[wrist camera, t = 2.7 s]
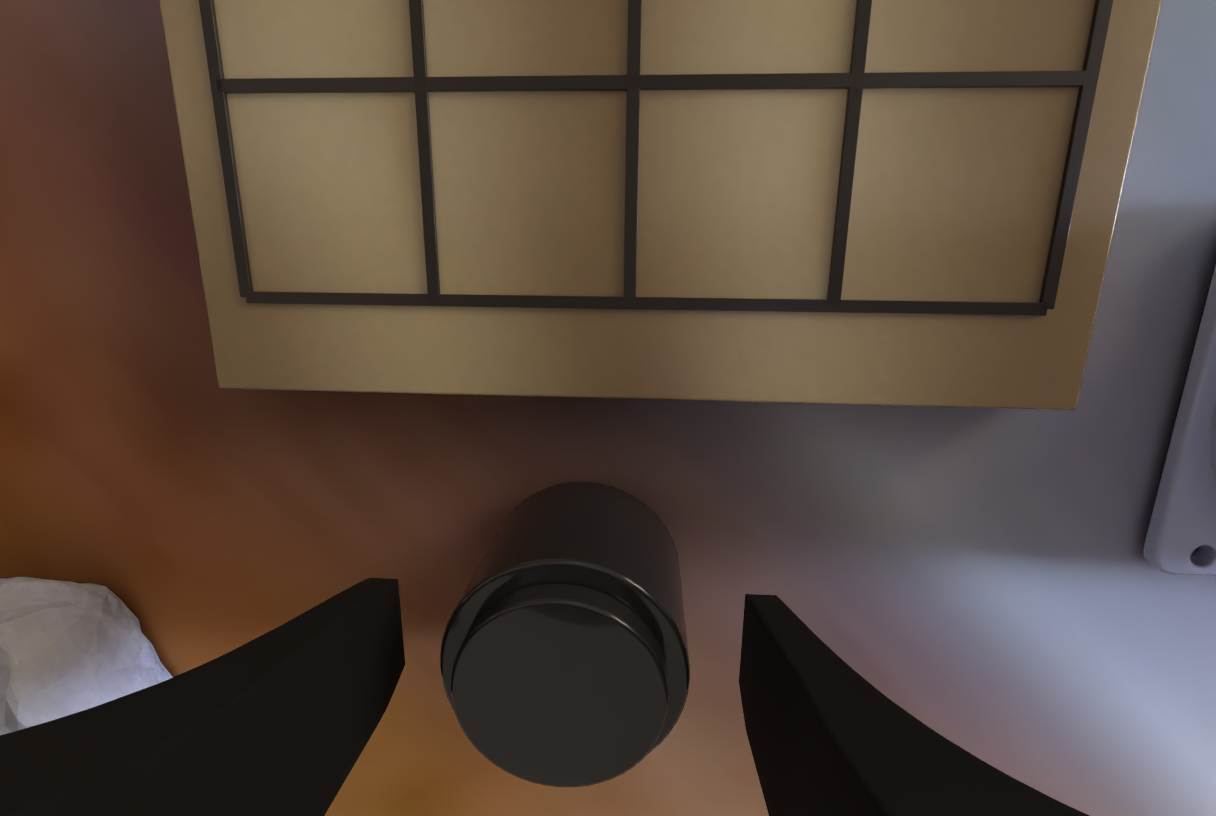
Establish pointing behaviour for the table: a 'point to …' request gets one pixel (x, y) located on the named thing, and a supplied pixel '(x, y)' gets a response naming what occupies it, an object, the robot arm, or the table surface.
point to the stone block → (67, 650)
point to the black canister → (570, 638)
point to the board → (658, 194)
